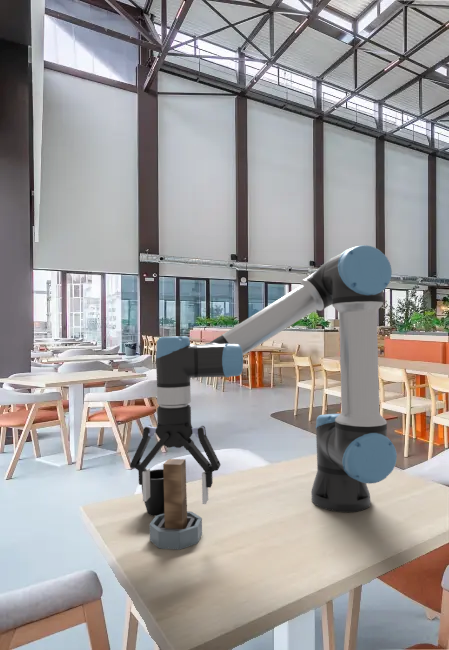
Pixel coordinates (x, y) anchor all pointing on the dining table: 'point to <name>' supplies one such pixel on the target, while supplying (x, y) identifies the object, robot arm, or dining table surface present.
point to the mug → (155, 493)
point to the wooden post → (175, 493)
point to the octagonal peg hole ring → (175, 532)
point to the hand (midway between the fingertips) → (175, 500)
